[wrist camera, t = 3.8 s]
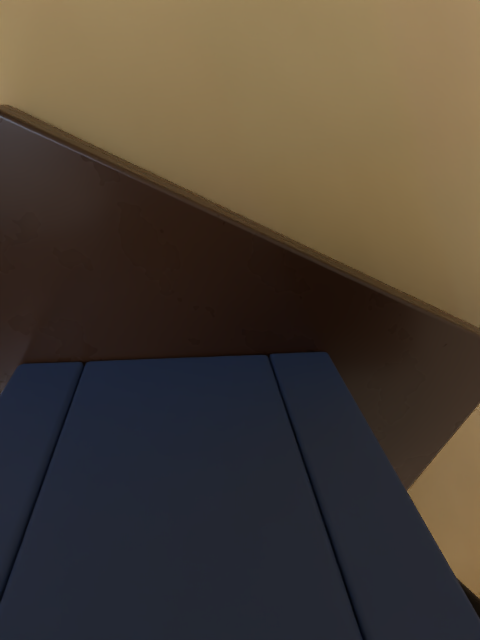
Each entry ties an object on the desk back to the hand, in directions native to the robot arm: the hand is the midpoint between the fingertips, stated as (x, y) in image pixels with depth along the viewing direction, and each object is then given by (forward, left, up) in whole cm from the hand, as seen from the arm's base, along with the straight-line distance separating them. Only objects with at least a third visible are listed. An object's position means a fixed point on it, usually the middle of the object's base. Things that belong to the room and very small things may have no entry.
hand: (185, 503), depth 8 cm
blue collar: (0, 0, -1) cm, 1 cm away
